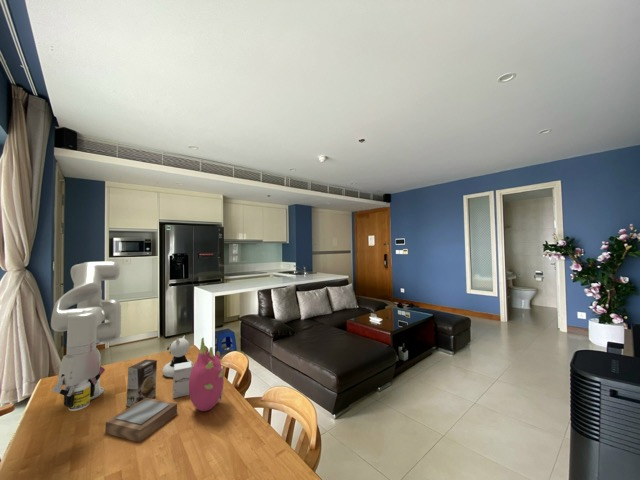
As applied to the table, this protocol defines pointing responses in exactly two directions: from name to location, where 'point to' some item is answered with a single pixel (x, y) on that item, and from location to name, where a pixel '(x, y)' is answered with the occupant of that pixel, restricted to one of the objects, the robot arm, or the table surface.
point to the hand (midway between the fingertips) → (79, 400)
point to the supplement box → (181, 379)
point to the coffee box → (141, 381)
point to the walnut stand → (141, 419)
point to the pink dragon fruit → (206, 379)
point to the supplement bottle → (81, 395)
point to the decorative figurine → (177, 355)
